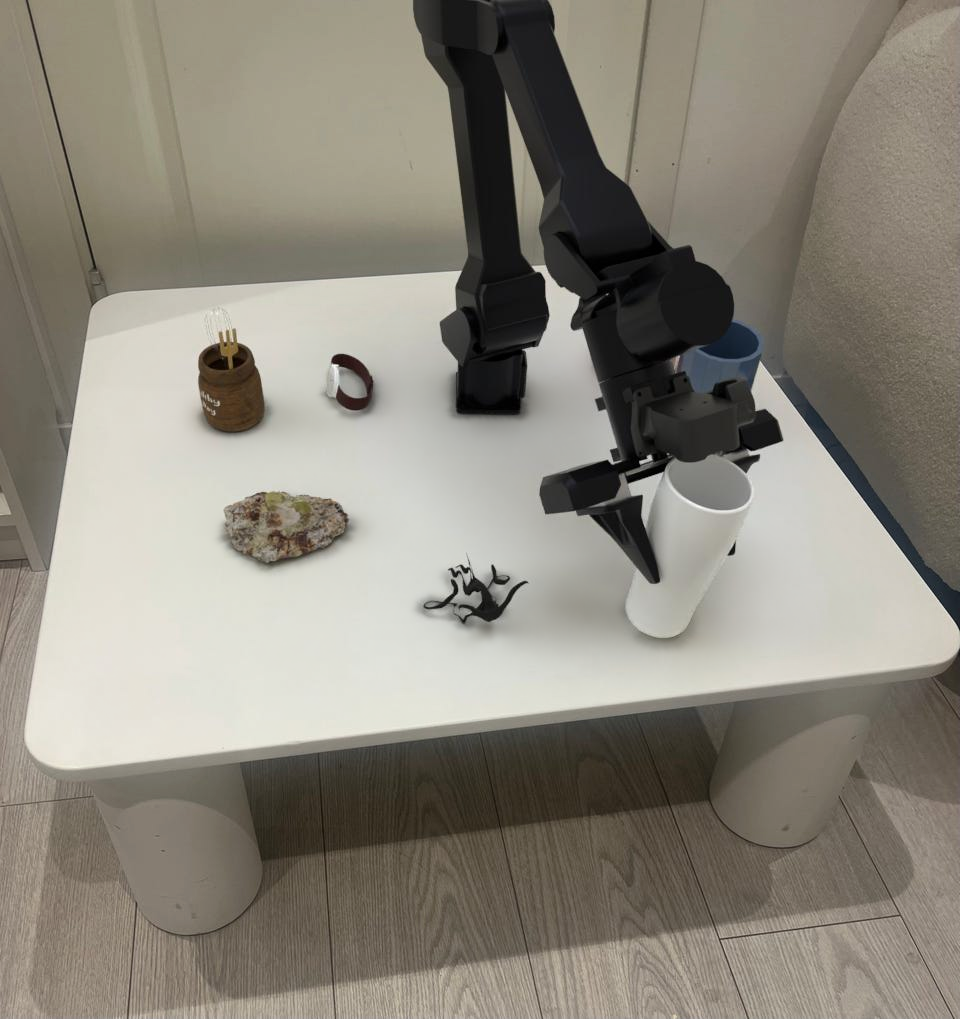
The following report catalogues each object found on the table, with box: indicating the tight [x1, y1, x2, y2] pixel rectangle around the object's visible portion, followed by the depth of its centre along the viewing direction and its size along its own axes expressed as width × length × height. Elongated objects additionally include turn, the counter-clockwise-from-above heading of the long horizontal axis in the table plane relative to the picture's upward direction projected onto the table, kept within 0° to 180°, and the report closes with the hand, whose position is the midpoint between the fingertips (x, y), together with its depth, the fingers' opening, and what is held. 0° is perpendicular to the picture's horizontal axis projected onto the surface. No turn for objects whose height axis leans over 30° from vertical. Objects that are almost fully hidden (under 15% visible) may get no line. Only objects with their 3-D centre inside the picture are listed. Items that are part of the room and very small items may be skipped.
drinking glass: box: [624, 454, 755, 639], centre depth 78 cm, size 7×7×15 cm
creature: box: [423, 552, 530, 624], centre depth 82 cm, size 8×5×8 cm
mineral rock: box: [223, 490, 350, 564], centre depth 88 cm, size 11×4×8 cm
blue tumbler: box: [675, 318, 765, 393], centre depth 99 cm, size 7×7×10 cm
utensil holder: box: [197, 307, 265, 432], centre depth 96 cm, size 6×6×12 cm
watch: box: [325, 353, 375, 412], centre depth 102 cm, size 8×5×4 cm, turn 16°
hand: (692, 569), depth 77 cm, fingers closed on drinking glass, 6 cm apart
